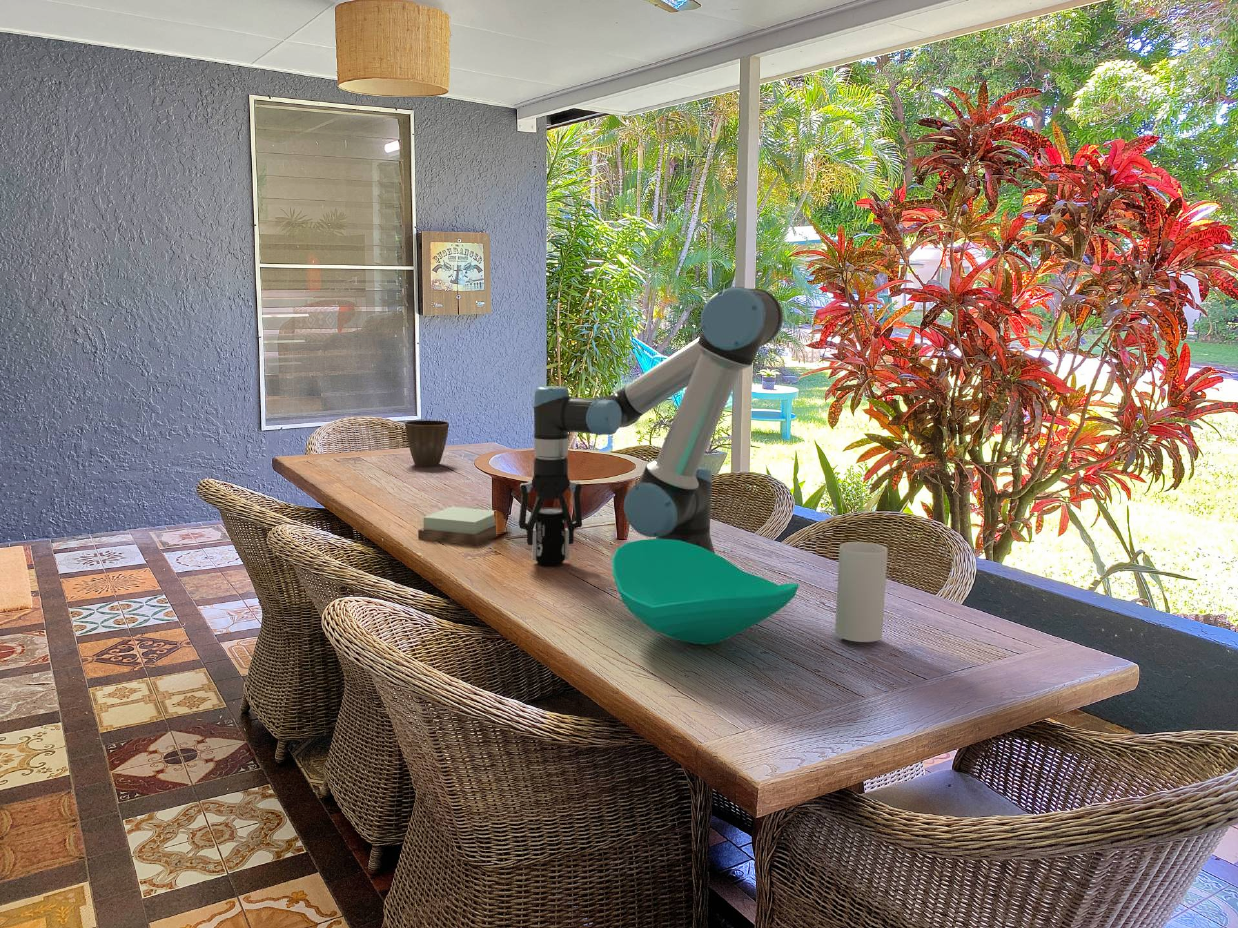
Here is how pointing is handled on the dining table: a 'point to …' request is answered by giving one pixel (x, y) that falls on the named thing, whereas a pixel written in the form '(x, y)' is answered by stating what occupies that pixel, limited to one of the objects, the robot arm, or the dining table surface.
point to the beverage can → (550, 536)
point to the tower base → (458, 536)
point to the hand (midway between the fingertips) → (550, 558)
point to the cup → (861, 591)
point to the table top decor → (693, 591)
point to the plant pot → (426, 441)
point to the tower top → (460, 520)
